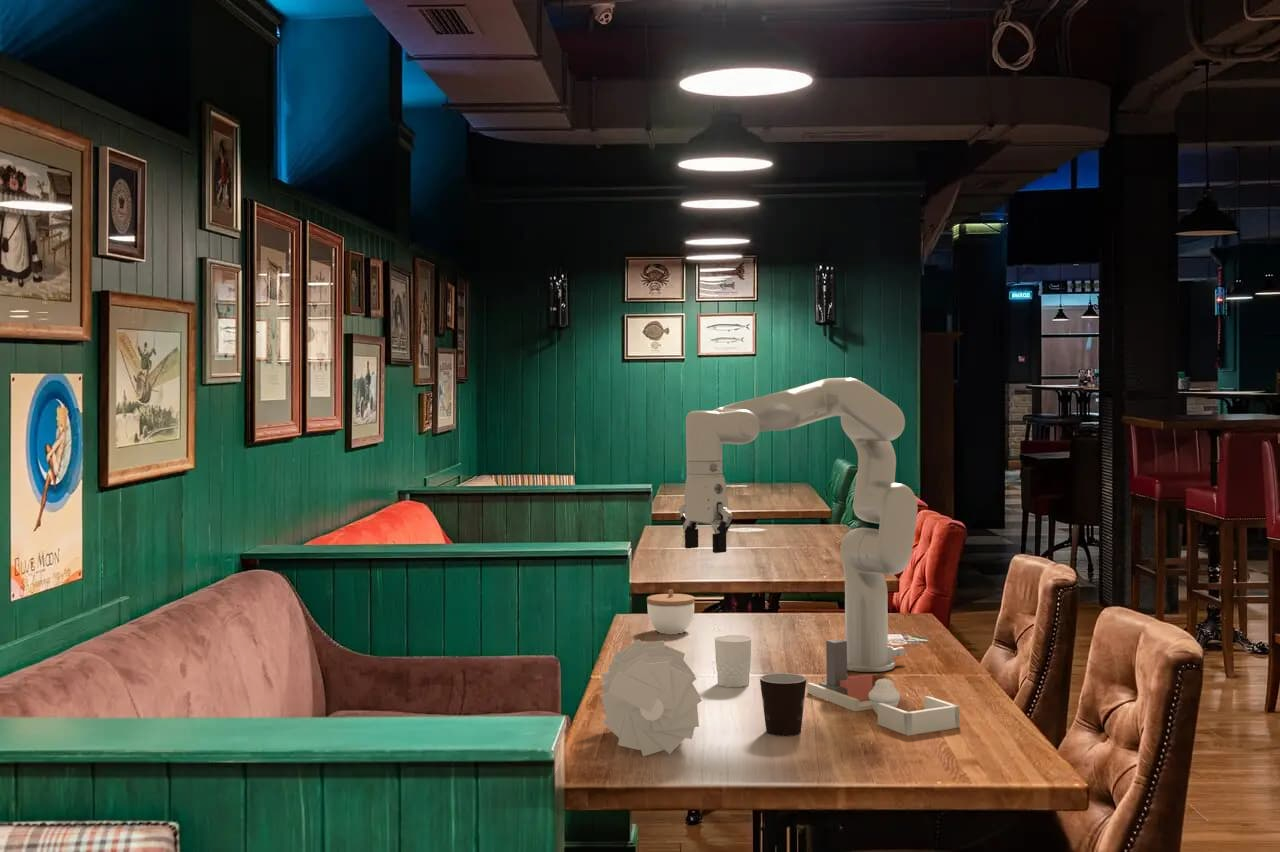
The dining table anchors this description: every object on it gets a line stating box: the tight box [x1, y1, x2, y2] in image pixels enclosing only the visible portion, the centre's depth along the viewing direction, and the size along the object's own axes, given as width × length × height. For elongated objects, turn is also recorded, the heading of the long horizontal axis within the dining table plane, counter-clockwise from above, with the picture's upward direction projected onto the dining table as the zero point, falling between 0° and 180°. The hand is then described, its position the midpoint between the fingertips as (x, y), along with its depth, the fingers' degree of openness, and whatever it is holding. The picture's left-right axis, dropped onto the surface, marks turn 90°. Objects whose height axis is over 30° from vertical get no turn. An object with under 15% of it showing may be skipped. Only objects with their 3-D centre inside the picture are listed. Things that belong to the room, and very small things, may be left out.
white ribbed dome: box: [868, 677, 901, 715], centre depth 251 cm, size 6×6×7 cm
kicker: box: [818, 638, 873, 700], centre depth 263 cm, size 5×12×10 cm, turn 26°
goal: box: [877, 695, 960, 736], centre depth 242 cm, size 12×9×4 cm
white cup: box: [714, 634, 752, 688], centre depth 278 cm, size 8×8×10 cm
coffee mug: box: [759, 672, 808, 737], centre depth 240 cm, size 12×9×10 cm
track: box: [806, 682, 874, 713], centre depth 263 cm, size 8×17×2 cm, turn 26°
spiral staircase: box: [600, 638, 703, 757], centre depth 233 cm, size 18×18×25 cm
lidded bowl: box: [646, 589, 696, 635], centre depth 339 cm, size 13×13×11 cm
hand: (705, 550), depth 272 cm, fingers open, 9 cm apart
